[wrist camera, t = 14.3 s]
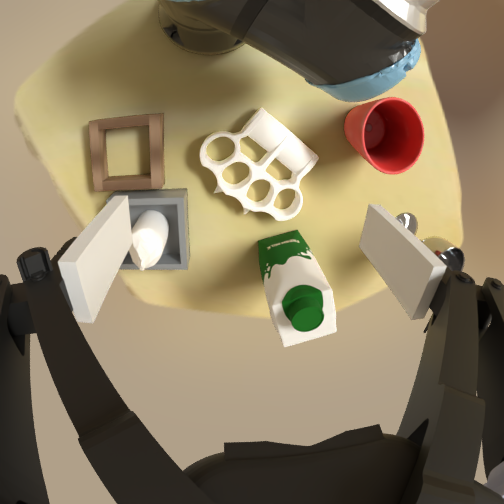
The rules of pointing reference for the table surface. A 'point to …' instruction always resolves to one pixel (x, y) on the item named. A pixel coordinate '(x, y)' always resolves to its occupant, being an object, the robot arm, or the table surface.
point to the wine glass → (436, 244)
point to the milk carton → (295, 289)
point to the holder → (100, 154)
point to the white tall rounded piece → (148, 238)
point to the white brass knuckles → (264, 164)
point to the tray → (176, 213)
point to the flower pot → (386, 134)
